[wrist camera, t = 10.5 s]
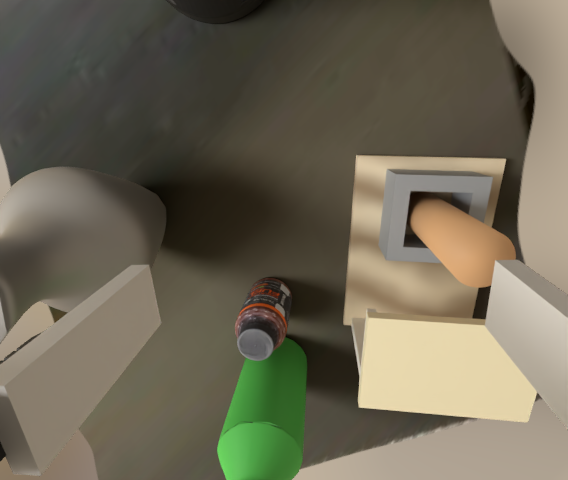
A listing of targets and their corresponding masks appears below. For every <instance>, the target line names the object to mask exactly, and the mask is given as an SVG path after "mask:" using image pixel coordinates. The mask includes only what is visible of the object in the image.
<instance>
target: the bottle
mask: <svg viewBox="0 0 568 480" xmlns="http://www.w3.org/2000/svg"><path fill="white" fill-rule="evenodd" d="M306 382H307V359H306V355H305V353H304V351H303V350H302V348H301V347H300V346H299V345H298V344H297V343H296V342H294V341H293V340H291V339H288V338H286V337H285V339H284V341H283V342H282V344H281V345H280V346H279V347H278V348H277V349H275V350H274V351H273V352H272V354H271V355H270V356H269V357H268V358H267V359H264V360H261V361H254V360H250V359H248V358H246V359H245V362H244V365H243V368H242V371H241V374H240V377H239V380H238V383H237V386H236V390H235V393H234V396H233V399H232V402H231V405H230V408H229V411H228V414H227V417H226V420H225V423H224V426H223V430H222V433H221V436H220V439H219V443H218V448H217V452H218V456H219V460H220V464H221V466H222V469H223V471H224V474H225V477H226V479H227V480H292V479H293V478H294V476H296V474H297V473H298V472H299V469H300V466H301V464H302V460H303V441H304V422H305V403H306Z"/></svg>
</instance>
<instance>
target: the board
mask: <svg viewBox="0 0 568 480" xmlns="http://www.w3.org/2000/svg"><path fill="white" fill-rule="evenodd" d="M505 163H506V159H503V158H471V157H427V156H383V155H356V165H355V178H354V190H353V203H352V215H351V228H350V240H349V253H348V265H347V278H346V291H345V303H344V316H343V323H344V325H351V323H352V318H366V311H367V308H369V309H376V311H377V313H393V314H408V315H424V316H439V317H455V318H471V319H472V316H473V312H474V307H475V302H476V298H477V293H478V288H476V287H470V286H467V285H465V284H463V283H461V282H460V281H458V280H457V279H456V278H455V277H454V275H453V274H452V273H451V272H450V271H449V270H448V269H447V268H446V267H445V266H444V265H443V263H428V262H408V261H388V260H386V259H385V257H384V255H383V253H382V251H381V250H380V248H379V246H378V245H379V236H380V226H381V217H382V208H383V199H384V190H385V180H386V171H387V169H407V170H445V171H472V172H476V173H480V174H484V175H487V176H491V177H493V180H492V185H491V190H490V195H489V200H488V205H487V210H486V214H485V219H484V224H486V225H488V226H489V227H491V228H492V223H493V219H494V214H495V209H496V205H497V200H498V195H499V191H500V186H501V182H502V177H503V172H504V168H505ZM416 192H420V191H410V195H411V194H413V193H416ZM424 192H429V193H431V194H433V195H435V196H437V197H438V198H440V199H442V200H444V201H445V202H447V203H449V204H451V199H452V193H453V192H430V191H424ZM405 234H415V233H414V232H413V231H412V230H411V228H410V227H409V226H408V225H407V224H406V229H405Z"/></svg>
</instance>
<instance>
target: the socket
mask: <svg viewBox="0 0 568 480" xmlns="http://www.w3.org/2000/svg"><path fill="white" fill-rule="evenodd" d="M492 180H493V177H491V176H487V175H484V174H480V173H476V172H472V171H445V170H407V169H387V171H386V180H385V190H384V199H383V208H382V217H381V226H380V236H379V245H378V246H379V248H380V250H381V251H382V253H383V255H384V257H385V259H386V260H388V261H408V262H428V263H442V262H441V261H440V260H439V259H438V258H437V257H436V256H435V255H434V254H433V252H432V251H431V250H430V249H429V248H428V247H427V246H426V245H425V244H424V243H423V242H422V240H421V239H420V238H419V237H418V236H417V235H416V234H405V229H406V221H407V214H408V206H409V199H410V191H430V192H453V193H452V199H451V205H452V206H454V207H456V208H458V209H459V210H461V211H463V212H465V213H467V214H468V215H470V216H472V217H474V218H475V219H477V220H479V221H481V222H482V223H484V219H485V214H486V210H487V205H488V200H489V195H490V190H491V185H492Z"/></svg>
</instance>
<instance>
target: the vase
mask: <svg viewBox="0 0 568 480" xmlns="http://www.w3.org/2000/svg"><path fill="white" fill-rule="evenodd" d="M165 228H166V207H165V206H164V204H163V203H162V201H161V200H160V198H159V197H158V195H157V194H155V193H153V192H151V191H149V190H148V189H146V188H144V187H142V186H140V185H138V184H136V183H133V182H131V181H128V180H125V179H122V178H119V177H115V176H112V175H108V174H105V173H101V172H97V171H93V170H88V169H83V168H77V167H53V168H46V169H41V170H39V171H36V172H33V173H31V174H29V175H27V176H25V177H23V178H22V179H20V180H19V181H17V182H16V183H15V184H14V185H13V186H12V187H11V188H10V190H9V191H8V192H7V194H6V195H5V197H4V198H3V200H2V202H1V204H0V343H1V342H2V341H3V339H4V338H5V337H6V335H7V334H8V333H9V331H10V330H11V329H12V327H13V326H14V325H15V324H16V322H17V321H18V320H19V319H20V318H21V316H22V315H23V314H24V313H25V312H26V311H27V310H28V309H29V308H30V307H31V306H32V305H33V304H35V303H36V302H38V301H41V302H43V303H45V304H47V305H49V306H51V307H54V308H56V309H59V310H62V311H66V312H70V311H71V310H73V309H74V308H75V307H77V306H78V305H79V304H81V303H82V302H83V301H85V300H86V299H87V298H88V297H90V296H91V295H92V294H94V293H95V292H96V291H98V290H99V289H100V288H102V287H103V286H104V285H106V284H107V283H108V282H109V281H111V280H112V279H113V278H115V277H116V276H117V275H119V274H120V273H121V272H123V271H124V270H125V269H127V268H128V267H129V266H131V265H149V267H150V271H151V268H152V266H153V264H154V261H155V259H156V256H157V254H158V252H159V249H160V246H161V244H162V241H163V237H164V233H165Z"/></svg>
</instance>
